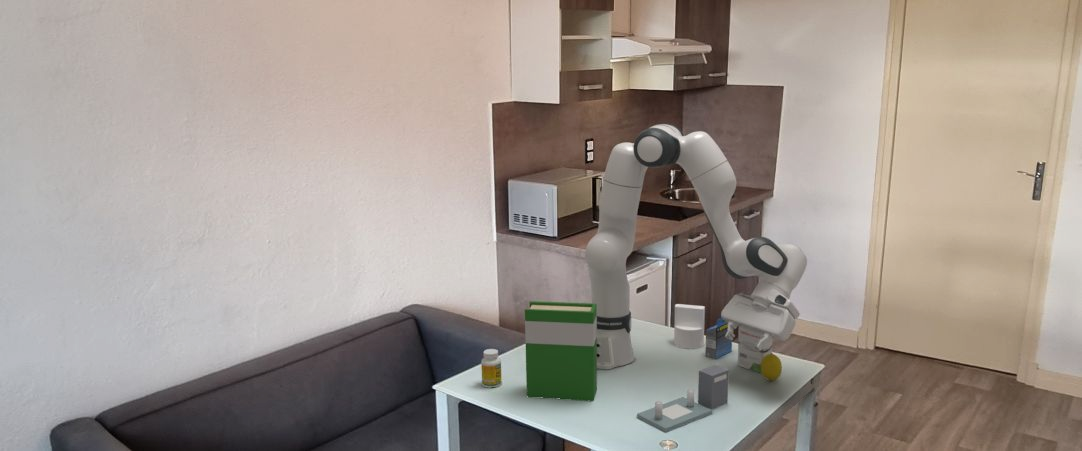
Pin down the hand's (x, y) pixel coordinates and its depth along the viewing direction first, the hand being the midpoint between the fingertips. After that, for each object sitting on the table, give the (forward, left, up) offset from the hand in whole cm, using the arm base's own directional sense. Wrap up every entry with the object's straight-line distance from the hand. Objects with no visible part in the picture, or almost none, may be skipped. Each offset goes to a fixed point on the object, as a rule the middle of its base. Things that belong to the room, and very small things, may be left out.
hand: (742, 343), depth 207 cm
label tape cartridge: (-6, +27, -14) cm, 31 cm away
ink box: (+4, +18, -14) cm, 23 cm away
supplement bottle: (-66, -7, -14) cm, 68 cm away
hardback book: (-46, -9, -14) cm, 49 cm away
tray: (-16, -17, -14) cm, 27 cm away
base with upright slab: (-15, +34, -14) cm, 40 cm away
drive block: (-7, -8, -14) cm, 17 cm away
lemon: (+8, +9, -14) cm, 18 cm away
